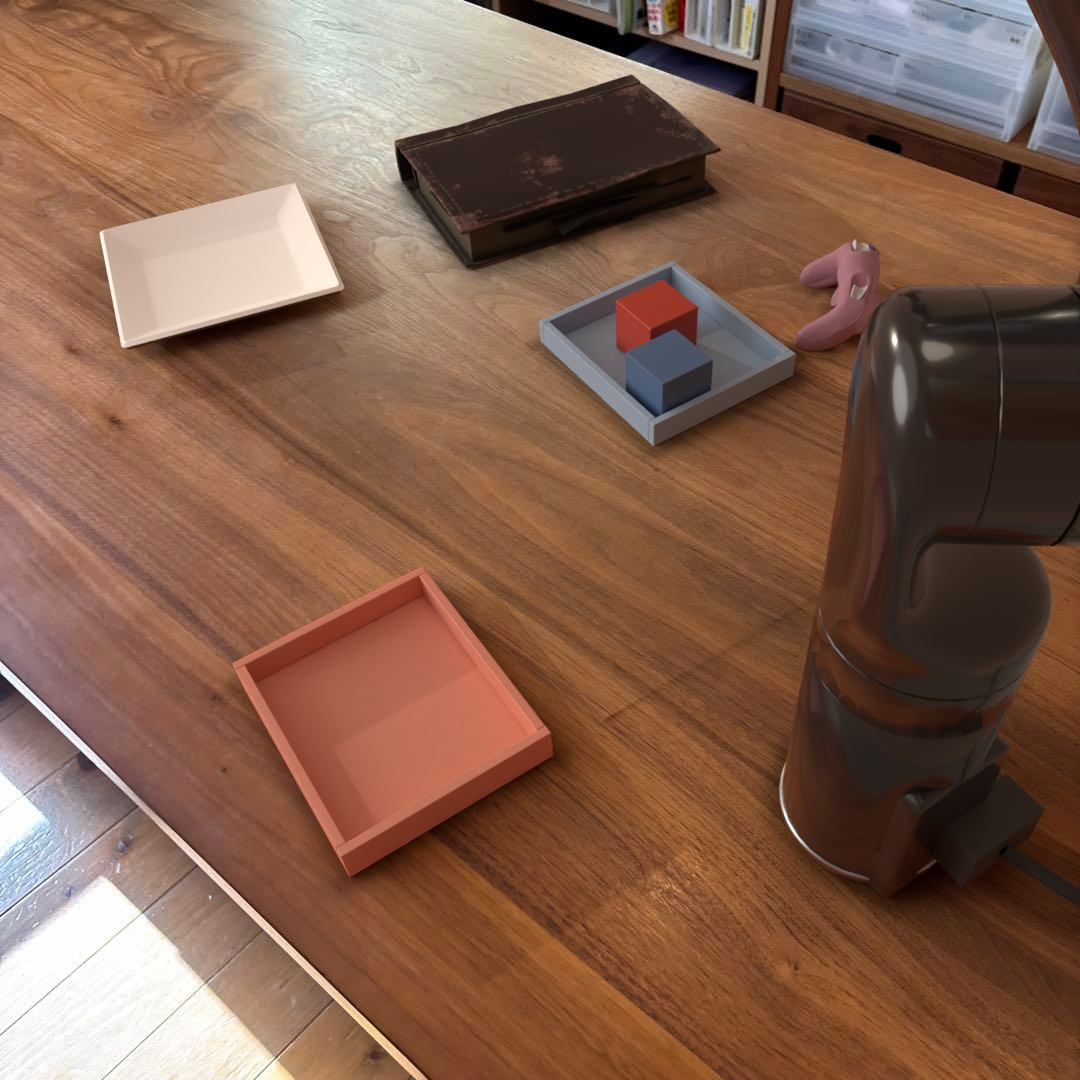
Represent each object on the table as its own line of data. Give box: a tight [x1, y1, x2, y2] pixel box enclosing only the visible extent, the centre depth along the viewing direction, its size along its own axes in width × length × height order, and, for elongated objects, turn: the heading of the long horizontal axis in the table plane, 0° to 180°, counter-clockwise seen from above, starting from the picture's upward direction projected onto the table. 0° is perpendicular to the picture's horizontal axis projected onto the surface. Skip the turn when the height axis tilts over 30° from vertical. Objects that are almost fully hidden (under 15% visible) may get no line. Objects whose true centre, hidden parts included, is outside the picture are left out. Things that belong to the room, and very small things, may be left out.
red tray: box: [232, 566, 554, 878], centre depth 66 cm, size 15×13×2 cm
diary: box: [393, 73, 722, 269], centre depth 103 cm, size 19×25×5 cm
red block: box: [616, 280, 698, 355], centre depth 86 cm, size 4×4×4 cm
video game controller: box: [794, 239, 881, 352], centre depth 87 cm, size 10×5×7 cm, turn 168°
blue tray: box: [538, 260, 797, 447], centre depth 86 cm, size 15×13×2 cm
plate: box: [99, 182, 345, 350], centre depth 98 cm, size 19×19×2 cm
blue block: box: [626, 329, 713, 418], centre depth 81 cm, size 4×4×4 cm
